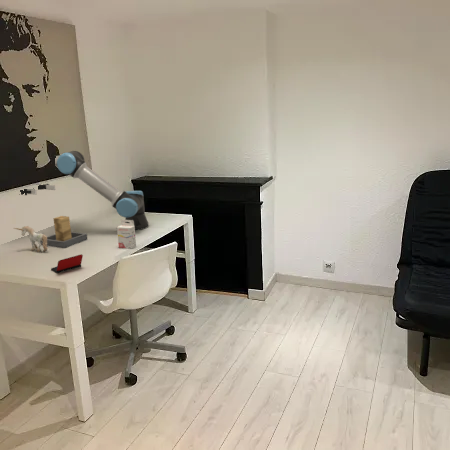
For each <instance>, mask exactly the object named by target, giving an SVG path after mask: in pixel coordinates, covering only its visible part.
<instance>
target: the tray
mask: <svg viewBox="0 0 450 450" xmlns="http://www.w3.org/2000/svg"><path fill="white" fill-rule="evenodd" d="M71 236H72V239H69V240H66V241H57V240H56V234H55V233H53V234H51V235H48V236H47V247H54V248H59V249H67V248H69V247H72V246H73V245H77V244H79V243H82V242H84V241H87V240H88V233H82V232H75V231H71ZM42 243H43V242H42V241H41V246H43V245H42Z"/></svg>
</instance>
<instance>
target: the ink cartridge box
mask: <svg viewBox="0 0 450 450" xmlns="http://www.w3.org/2000/svg"><path fill="white" fill-rule="evenodd" d="M125 222H130V223H125ZM116 234H117V243H118V245H117V246H118V248H119V249H129V250H130V249H135V247H137V239H136V230H135V226H134V221H133V220H125V219H120V225H118V226H117V227H116Z"/></svg>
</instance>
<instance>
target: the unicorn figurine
mask: <svg viewBox="0 0 450 450" xmlns="http://www.w3.org/2000/svg"><path fill="white" fill-rule="evenodd" d="M13 229H14V230H18V231H21V236H22V237H23V236H25V235H26V233H28V234H29V235H28V238H29V241H30V243H31V251H35V250H37V253H39V252H40V251H41V247H43V252H46V251H48V249H49V246H47V237H48V236H47V235H46V234H44V233H37V232H36V231H35V230H34V229H33V228H32V227H30V226H29V225H27V226H22V227H21V228H19V227H18V228H17V227H13ZM41 241H42V242H43V243H42V245H41ZM36 242H37V243H36Z"/></svg>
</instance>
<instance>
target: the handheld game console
mask: <svg viewBox="0 0 450 450" xmlns="http://www.w3.org/2000/svg"><path fill="white" fill-rule="evenodd" d="M83 256H84V255H83V254H78V255H75V256H74V255H73V256H71V257H66V258H63V259H59V260H58V262H57V265H56V266H55V267H51V268H50V271H52V272H54V273H55V274H61V273H64V272H67V271H70V270H74V269H77V268H78V269H79V268H81V267H82V262H83Z"/></svg>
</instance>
